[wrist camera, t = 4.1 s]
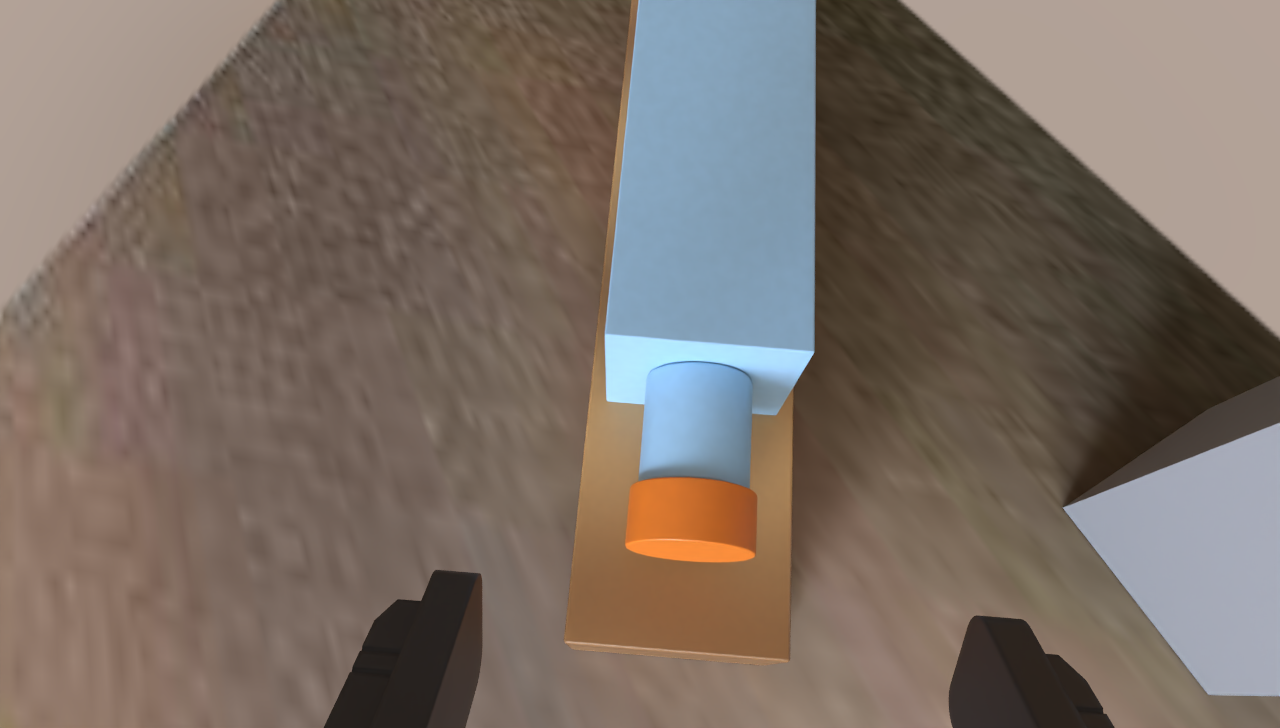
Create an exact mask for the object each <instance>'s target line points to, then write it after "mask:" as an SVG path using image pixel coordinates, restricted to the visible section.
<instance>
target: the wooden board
mask: <svg viewBox="0 0 1280 728" xmlns="http://www.w3.org/2000/svg"><path fill="white" fill-rule="evenodd" d="M638 1H639V0H632V1H631V11H630V20H629V30H628V39H627V49H626V58H625V68H624V77H623V86H622V96H621V105H620V115H619V124H618V134H617V143H616V153H615V162H614V172H613V181H612V191H611V200H610V209H609V219H608V228H607V238H606V247H605V257H604V266H603V276H602V285H601V295H600V304H599V314H598V323H597V332H596V342H595V351H594V361H593V370H592V380H591V389H590V399H589V408H588V418H587V427H586V436H585V446H584V455H583V465H582V474H581V484H580V493H579V503H578V512H577V522H576V531H575V541H574V550H573V559H572V569H571V578H570V588H569V597H568V607H567V616H566V626H565V635H564V642H565V643H566V644H567V645H568V646H569V647H571V648H572V649H575V650H587V651H599V652H611V653H623V654H634V655H646V656H658V657H670V658H682V659H694V660H706V661H718V662H730V663H741V664H753V665H769V664H777V663H785V662H789V661H790V629H791V553H792V477H793V401H794V387H793V389H792V390H791V392H790V394H789V395H788V397H787V399H786V400H785V402H784V404H783V405H782V407H781V409H780V410H779V412H778V414H777V415H763V414H752V432H751V464H750V489H751V490H753V491H754V492H755V493H756V494H757V498H758V499H757V534H756V555H755V557H754V558H752V559H749V560H745V561H737V562H692V561H680V560H671V559H663V558H657V557H651V556H646V555H642V554H638V553H635V552H633V551H630V550H629V549H627V548H626V546H625V539H626V527H627V515H628V503H629V492H630V487H631V485H632V484H634V483H636V482H638V479H639V467H640V454H641V442H642V429H643V417H644V404H632V403H620V402H608V401H607V400H606V368H605V325H606V315H607V305H608V296H609V286H610V276H611V266H612V256H613V246H614V237H615V227H616V217H617V207H618V197H619V188H620V178H621V168H622V158H623V148H624V138H625V129H626V119H627V109H628V99H629V89H630V80H631V70H632V60H633V50H634V40H635V30H636V21H637V11H638Z"/></svg>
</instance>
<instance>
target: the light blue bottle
mask: <svg viewBox="0 0 1280 728" xmlns="http://www.w3.org/2000/svg"><path fill="white" fill-rule="evenodd" d="M815 122H816V0H639V1H638V11H637V21H636V30H635V40H634V50H633V60H632V70H631V80H630V89H629V99H628V109H627V119H626V129H625V138H624V148H623V158H622V168H621V178H620V188H619V197H618V207H617V217H616V227H615V237H614V246H613V256H612V266H611V276H610V286H609V296H608V305H607V315H606V325H605V368H606V400H607V401H608V402H620V403H632V404H644V417H643V429H642V442H641V454H640V467H639V479H638V482H636V483H634V484H632V485H631V487H630V492H629V503H628V515H627V527H626V539H625V546H626V548H627V549H629V550H630V551H633V552H635V553H638V554H642V555H646V556H651V557H657V558H663V559H671V560H680V561H692V562H737V561H745V560H749V559H752V558H754V557H755V555H756V534H757V499H758V498H757V494H756V493H755V492H754V491H753V490H751V489H750V464H751V432H752V414H763V415H777V414H778V412H779V410H780V409H781V407H782V405H783V404H784V402H785V400H786V399H787V397H788V395H789V394H790V392H791V390H792V389H793V387H794V385H795V384H796V382H797V380H798V379H799V377H800V375H801V374H802V372H803V370H804V369H805V367H806V365H807V364H808V362H809V361H810V359H811V357H812V356H813V354H814V352H815Z"/></svg>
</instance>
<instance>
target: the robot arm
mask: <svg viewBox="0 0 1280 728" xmlns="http://www.w3.org/2000/svg"><path fill="white" fill-rule="evenodd" d="M481 658H482V577H481V574H480V573H468V572H456V571H444V570H435V571H434V572H433V574H432V576H431V578H430V581H429V583H428V586H427V588H426V591H425V593H424V596H423V598H422V600H421V601H412V600H399V599H398V600H397V601H396V602H394V603H393V604H392V605H391V606H390V607H389V608H388V609H387V610H386V611H384V612H383V613H382V614H381V615H380V616H379V617H378V618H377V619H376V620H374V623H373V625H372V627H371V629H370V631H369V633H368V635H367V637H366V639H365V642H364V644H363V646H362V651H360V652H359V654H358V656H357V659H356V661H355V663H354V665H353V668H352V672H350V673H349V675H348V678H347V680H346V682H345V684H344V686H343V688H342V690H341V692H340V695H339V697H338V699H337V701H336V703H335V705H334V707H333V709H332V712H331V714H330V716H329V718H328V720H327V722H326V724H325V726H324V728H465V726H466V723H467V719H468V716H469V712H470V708H471V705H472V701H473V698H474V694H475V691H476V687H477V683H478V678H479V673H480V666H481ZM949 712H950V719H951V723H952V726H953V728H1114V726H1113V724H1112V723H1111V721H1110V719H1109V718H1108V716H1107V714H1103V708H1102V706H1101V704H1100V703H1099V701H1098V699H1097V698H1096V696H1095V694H1094V693H1093V691H1092V689H1091V688H1090V686H1089V684H1088V683H1087V681H1086V680H1085V679H1084V678H1083V677H1082V676H1081V675H1080V674H1079V673H1077V672H1076V671H1075V670H1074V669H1073V668H1072V667H1071V666H1070V665H1069V664H1068V663H1067V662H1065V661H1064V660H1063V659H1062V658H1061V657H1060V656H1059V655H1052V654H1045V653H1044V651H1043V649H1042V647H1041V645H1040V644H1039V642H1038V640H1037V638H1036V637H1035V635H1034V633H1033V631H1032V630H1031V628H1030V626H1029V625H1028V623H1027V622H1026V621H1024V620H1022V619H1012V618H1000V617H988V616H974V617H973V618H972V619H971V621H970V622H969V625H968V628H967V631H966V635H965V638H964V641H963V645H962V648H961V651H960V655H959V658H958V661H957V665H956V668H955V671H954V675H953V678H952V681H951V685H950V690H949Z"/></svg>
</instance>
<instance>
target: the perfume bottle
mask: <svg viewBox="0 0 1280 728" xmlns="http://www.w3.org/2000/svg"><path fill="white" fill-rule="evenodd" d="M1063 509H1064V510H1065V511H1066V513H1067V514H1068V515H1069V516H1070V518H1071V519H1072V520H1073V522H1074V523H1075V524H1076V525H1077V527H1078V528H1079V529H1080V531H1081V532H1082V533H1083V534H1084V536H1085V537H1086V538H1087V540H1088V541H1089V542H1090V543H1091V545H1092V546H1093V547H1094V549H1095V550H1096V551H1097V552H1098V554H1099V555H1100V556H1101V558H1102V559H1103V560H1104V561H1105V563H1106V564H1107V565H1108V567H1109V568H1110V569H1111V570H1112V572H1113V573H1114V574H1115V576H1116V577H1117V578H1118V579H1119V581H1120V582H1121V583H1122V584H1123V586H1124V587H1125V588H1126V590H1127V591H1128V592H1129V593H1130V595H1131V596H1132V597H1133V599H1134V600H1135V601H1136V602H1137V604H1138V605H1139V606H1140V608H1141V609H1142V610H1143V611H1144V613H1145V614H1146V615H1147V617H1148V618H1149V619H1150V620H1151V622H1152V623H1153V624H1154V626H1155V627H1156V628H1157V629H1158V631H1159V632H1160V633H1161V635H1162V636H1163V637H1164V638H1165V640H1166V641H1167V642H1168V644H1169V645H1170V646H1171V647H1172V649H1173V650H1174V651H1175V653H1176V654H1177V655H1178V656H1179V658H1180V659H1181V660H1182V662H1183V663H1184V664H1185V665H1186V667H1187V668H1188V669H1189V671H1190V672H1191V673H1192V674H1193V676H1194V677H1195V678H1196V680H1197V681H1198V682H1199V683H1200V685H1201V686H1202V687H1203V689H1204V690H1205V691H1206V692H1207V694H1208V695H1245V696H1280V376H1278V377H1276V378H1274V379H1272V380H1270V381H1267V382H1265V383H1263V384H1261V385H1259V386H1257V387H1255V388H1252V389H1250V390H1248V391H1246V392H1244V393H1242V394H1239V395H1237V396H1235V397H1233V398H1231V399H1229V400H1226V401H1224V402H1222V403H1220V404H1218V405H1216V406H1214V407H1211V408H1209V409H1207V410H1206V411H1204V412H1203V413H1201V414H1200V415H1198V416H1197V417H1196V418H1194V419H1193V420H1191V421H1190V422H1188V423H1187V424H1185V425H1184V426H1182V427H1181V428H1179V429H1178V430H1176V431H1175V432H1174V433H1172V434H1171V435H1169V436H1168V437H1166V438H1165V439H1163V440H1162V441H1160V442H1159V443H1157V444H1156V445H1154V446H1153V447H1152V448H1150V449H1149V450H1147V451H1146V452H1144V453H1143V454H1141V455H1140V456H1138V457H1137V458H1135V459H1134V460H1132V461H1131V462H1129V463H1128V464H1127V465H1125V466H1124V467H1122V468H1121V469H1119V470H1118V471H1116V472H1115V473H1113V474H1112V475H1110V476H1109V477H1107V478H1106V479H1105V480H1103V481H1102V482H1100V483H1099V484H1097V485H1096V486H1094V487H1093V488H1091V489H1090V490H1088V491H1087V492H1085V493H1084V494H1083V495H1081V496H1080V497H1078V498H1077V499H1075V500H1074V501H1072V502H1071V503H1069V504H1068V505H1066V506H1065V507H1063Z"/></svg>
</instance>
